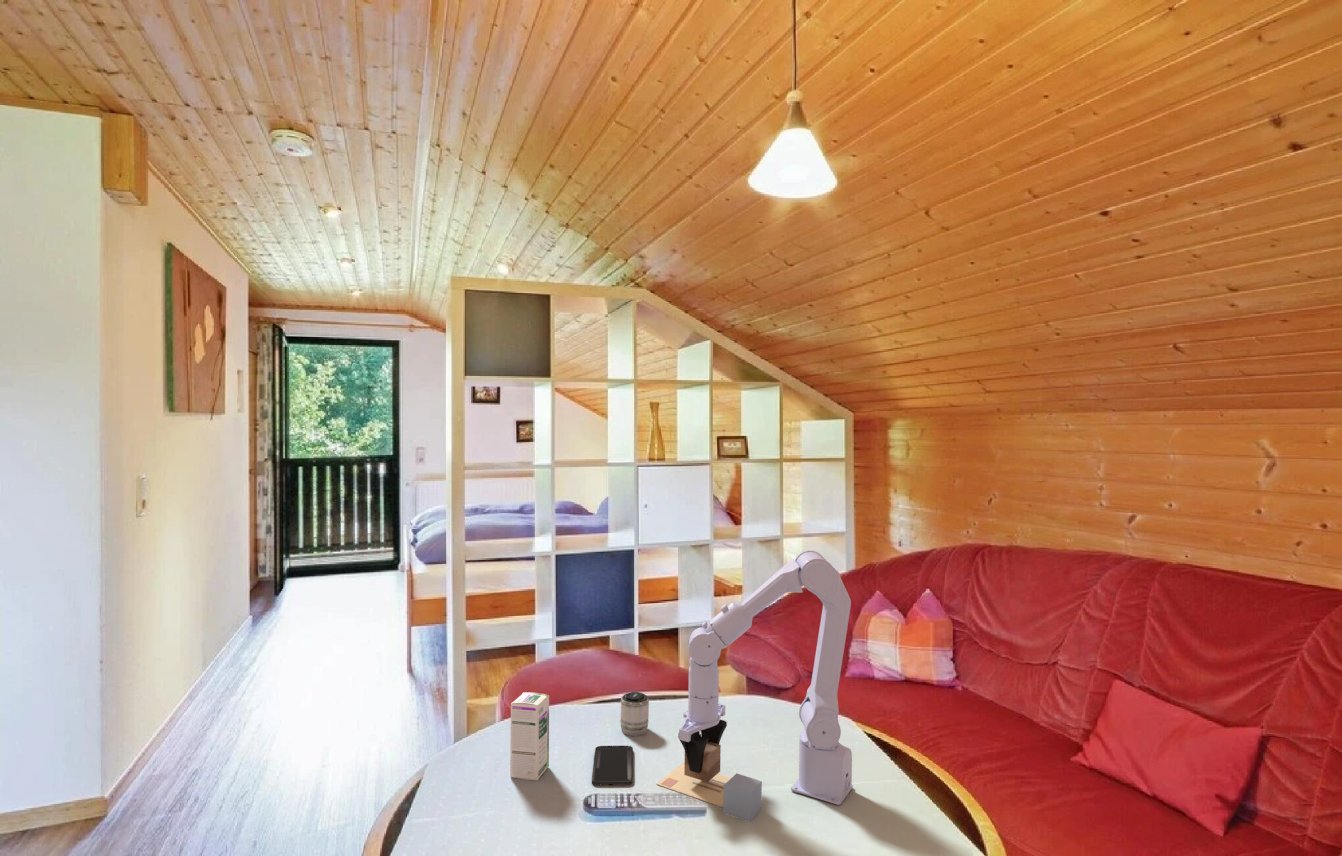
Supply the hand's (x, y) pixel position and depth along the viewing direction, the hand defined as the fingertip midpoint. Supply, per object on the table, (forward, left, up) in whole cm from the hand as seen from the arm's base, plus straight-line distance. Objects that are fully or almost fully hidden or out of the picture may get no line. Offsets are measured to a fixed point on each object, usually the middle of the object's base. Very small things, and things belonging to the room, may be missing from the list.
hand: (702, 765), depth 130 cm
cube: (-10, +4, -4) cm, 12 cm away
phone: (+18, +4, -4) cm, 19 cm away
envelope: (0, 0, -4) cm, 4 cm away
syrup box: (+30, +15, -4) cm, 34 cm away
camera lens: (+24, -12, -4) cm, 27 cm away
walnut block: (0, 0, -2) cm, 2 cm away
